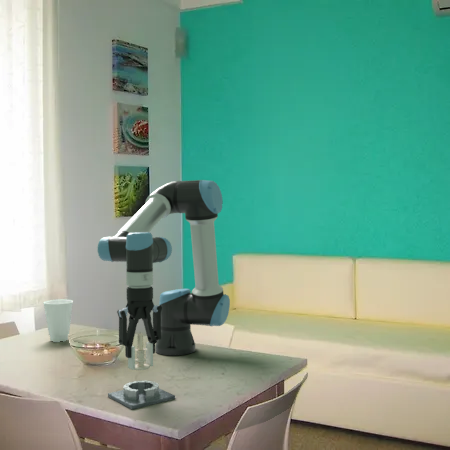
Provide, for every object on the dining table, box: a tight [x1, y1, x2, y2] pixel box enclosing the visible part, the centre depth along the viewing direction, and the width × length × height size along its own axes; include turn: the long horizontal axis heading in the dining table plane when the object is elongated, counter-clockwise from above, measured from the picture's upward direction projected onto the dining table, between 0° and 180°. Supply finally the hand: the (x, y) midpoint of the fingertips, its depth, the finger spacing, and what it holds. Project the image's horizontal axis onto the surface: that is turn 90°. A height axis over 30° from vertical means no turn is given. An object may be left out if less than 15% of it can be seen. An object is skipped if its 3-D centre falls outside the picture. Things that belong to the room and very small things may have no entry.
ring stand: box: [107, 380, 176, 410], centre depth 173 cm, size 14×14×4 cm
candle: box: [134, 332, 151, 371], centre depth 172 cm, size 5×5×10 cm
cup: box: [43, 299, 74, 343], centre depth 247 cm, size 12×12×16 cm
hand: (140, 366), depth 172 cm, fingers closed on candle, 5 cm apart
